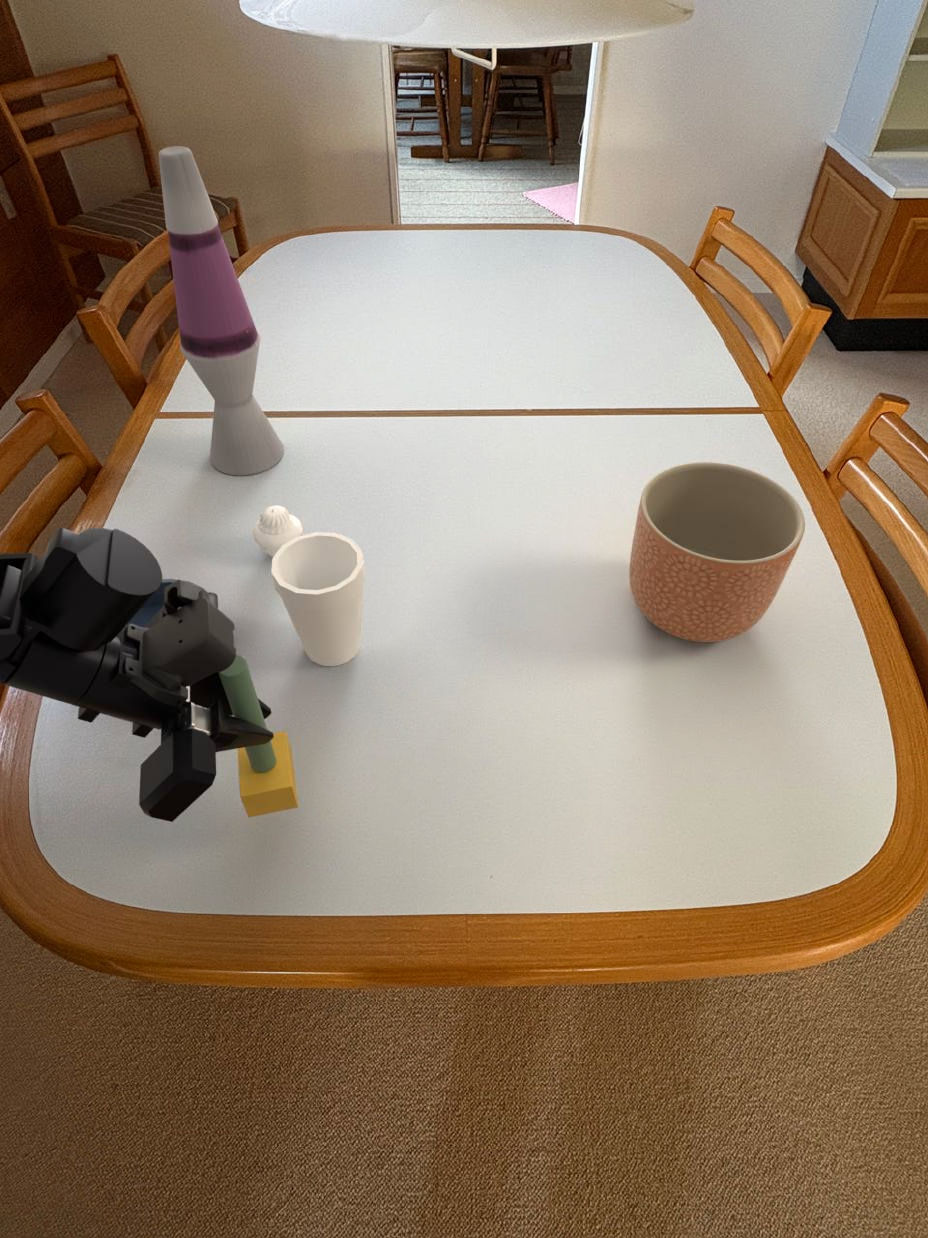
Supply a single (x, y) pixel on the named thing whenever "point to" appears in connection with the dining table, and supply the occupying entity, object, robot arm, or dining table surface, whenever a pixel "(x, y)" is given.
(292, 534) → the white citrus juicer
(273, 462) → the lamp
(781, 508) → the planter
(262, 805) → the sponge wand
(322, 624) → the foam cup
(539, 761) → the dining table surface
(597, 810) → the dining table surface
